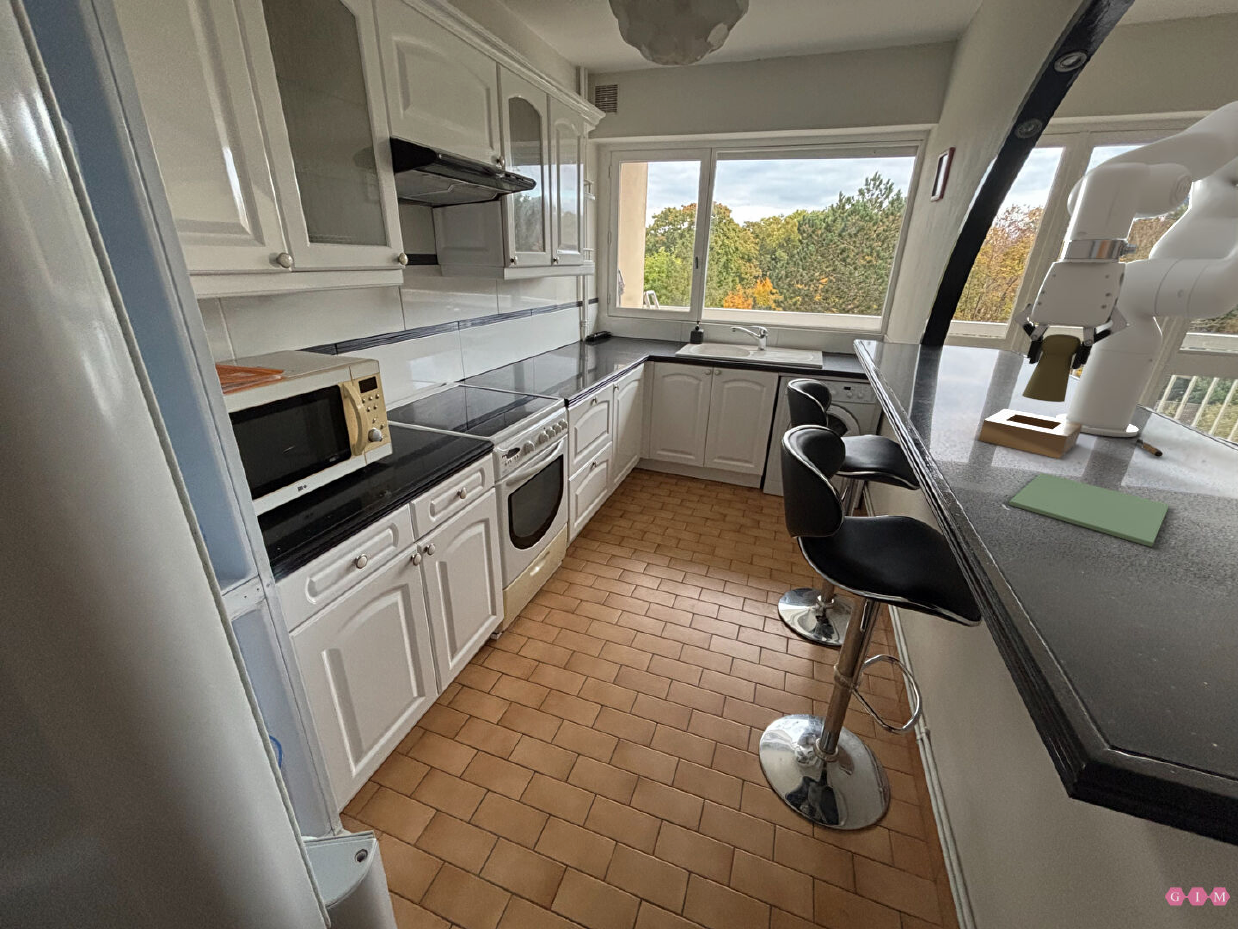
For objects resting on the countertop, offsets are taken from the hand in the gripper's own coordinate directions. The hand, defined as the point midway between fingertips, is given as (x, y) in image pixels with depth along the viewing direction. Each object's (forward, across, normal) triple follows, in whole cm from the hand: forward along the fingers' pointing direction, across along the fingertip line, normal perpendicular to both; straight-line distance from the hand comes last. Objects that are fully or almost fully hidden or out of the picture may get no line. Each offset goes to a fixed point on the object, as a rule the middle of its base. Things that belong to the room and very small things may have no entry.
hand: (1054, 364), depth 88 cm
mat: (+14, -13, +27) cm, 33 cm away
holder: (+14, 0, +1) cm, 14 cm away
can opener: (+15, -15, -11) cm, 24 cm away
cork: (+6, 0, 0) cm, 6 cm away
